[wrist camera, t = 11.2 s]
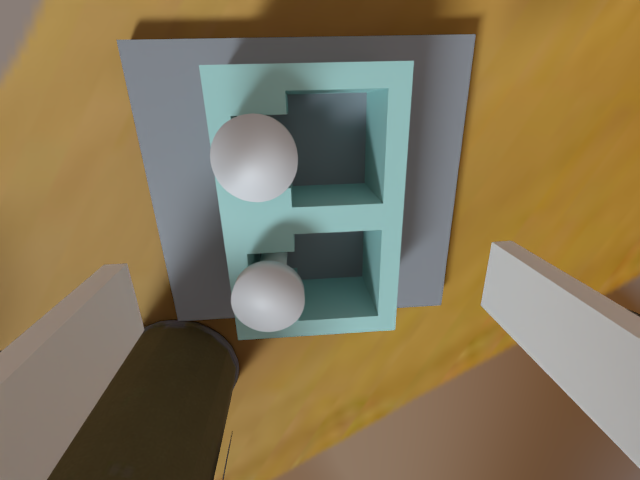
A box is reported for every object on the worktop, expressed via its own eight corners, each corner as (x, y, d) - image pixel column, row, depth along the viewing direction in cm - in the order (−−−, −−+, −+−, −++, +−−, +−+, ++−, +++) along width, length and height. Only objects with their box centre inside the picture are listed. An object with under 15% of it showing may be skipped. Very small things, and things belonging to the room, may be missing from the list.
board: (183, 310, 29) (136, 398, 20) (128, 44, 21) (14, 1, 13) (434, 295, 30) (490, 372, 21) (464, 38, 22) (570, -4, 14)
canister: (119, 400, 32) (-124, 809, 13) (125, 309, 28) (-199, 695, 10) (234, 414, 34) (160, 795, 15) (252, 330, 30) (185, 693, 11)
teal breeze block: (248, 295, 27) (238, 340, 22) (222, 75, 21) (198, 64, 16) (376, 288, 27) (395, 329, 22) (385, 71, 22) (413, 60, 16)
